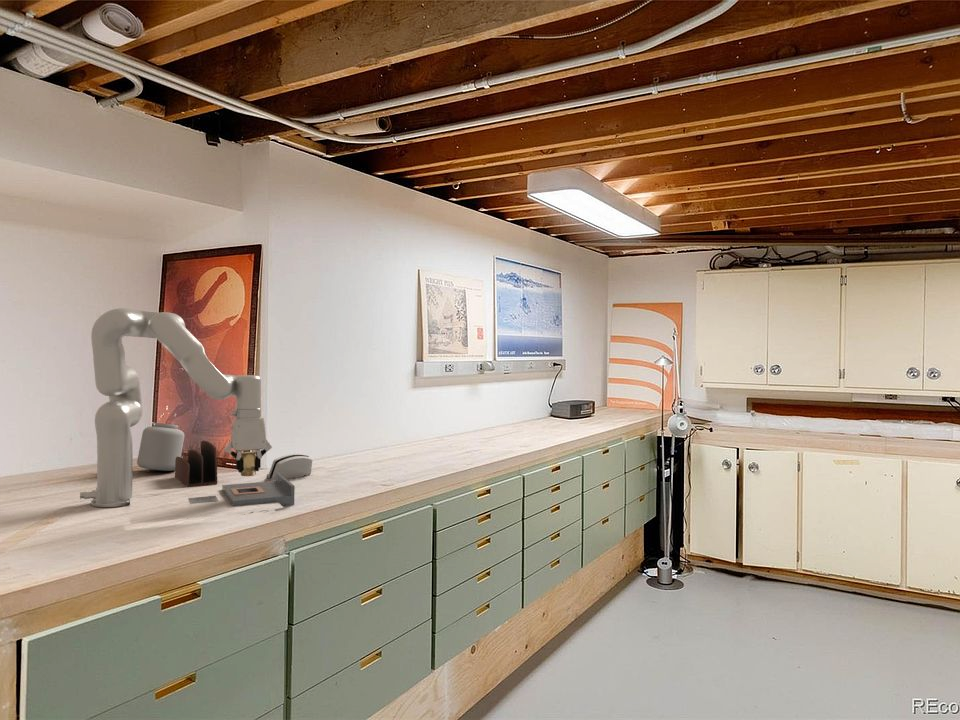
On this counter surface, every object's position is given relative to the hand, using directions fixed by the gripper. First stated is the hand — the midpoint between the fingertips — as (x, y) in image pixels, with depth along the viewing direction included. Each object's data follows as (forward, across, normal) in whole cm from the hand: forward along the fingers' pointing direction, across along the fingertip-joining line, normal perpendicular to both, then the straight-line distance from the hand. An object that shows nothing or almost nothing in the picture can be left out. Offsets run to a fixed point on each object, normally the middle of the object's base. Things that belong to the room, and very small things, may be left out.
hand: (248, 470), depth 208 cm
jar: (+9, -21, +62) cm, 66 cm away
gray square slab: (+9, -13, 0) cm, 16 cm away
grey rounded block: (+10, +20, +31) cm, 38 cm away
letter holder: (+10, -12, +38) cm, 41 cm away
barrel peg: (+1, 0, 0) cm, 1 cm away
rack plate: (+10, +3, 0) cm, 10 cm away
